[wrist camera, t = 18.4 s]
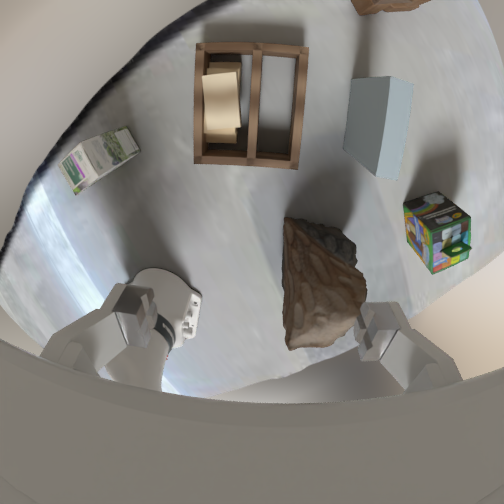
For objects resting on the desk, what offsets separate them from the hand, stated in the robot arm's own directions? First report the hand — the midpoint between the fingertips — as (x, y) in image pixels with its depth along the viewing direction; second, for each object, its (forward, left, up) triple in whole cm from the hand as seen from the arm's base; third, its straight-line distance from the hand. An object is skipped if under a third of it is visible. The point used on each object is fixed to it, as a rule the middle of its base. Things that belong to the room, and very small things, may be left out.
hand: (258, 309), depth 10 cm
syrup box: (-1, +25, -37) cm, 44 cm away
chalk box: (-10, -32, -37) cm, 50 cm away
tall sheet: (+6, -14, -37) cm, 40 cm away
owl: (-18, -9, -37) cm, 42 cm away
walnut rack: (+6, +3, -36) cm, 37 cm away
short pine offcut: (+6, +6, -33) cm, 34 cm away
